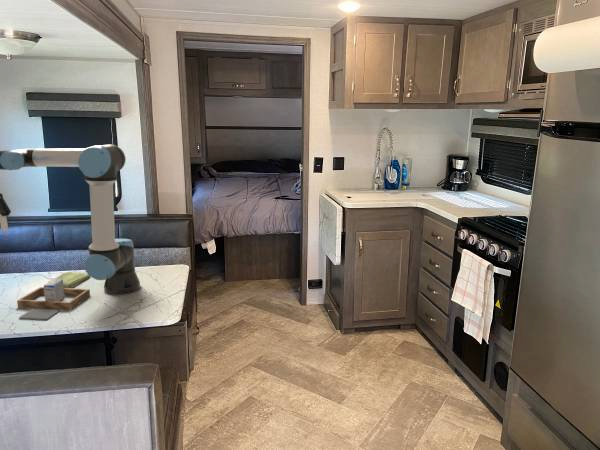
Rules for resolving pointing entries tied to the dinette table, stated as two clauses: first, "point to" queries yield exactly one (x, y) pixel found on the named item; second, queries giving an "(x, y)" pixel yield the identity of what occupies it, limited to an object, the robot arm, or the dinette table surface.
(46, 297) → the medicine box
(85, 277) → the washcloth
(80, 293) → the wooden frame
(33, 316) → the mat
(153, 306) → the dinette table surface
